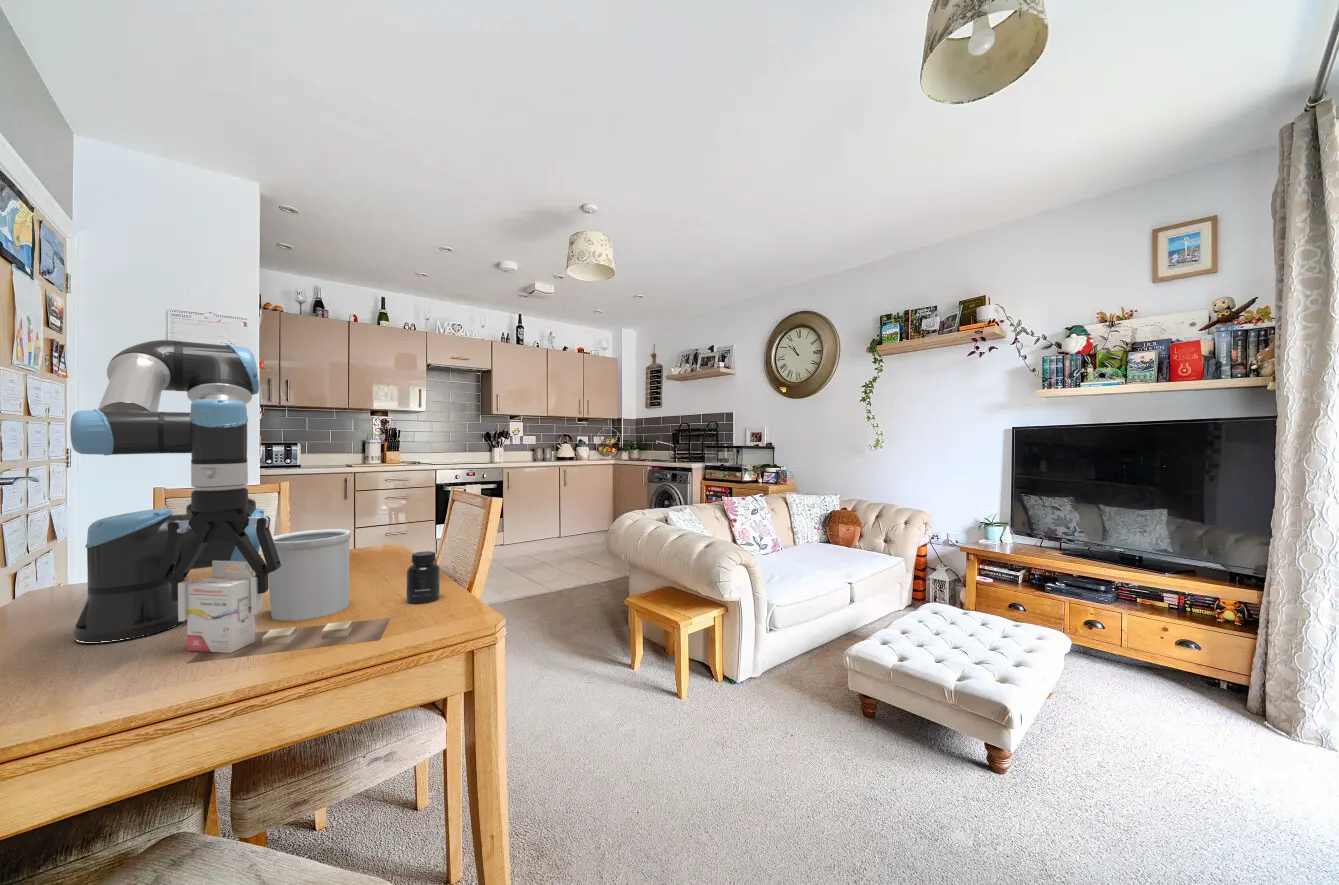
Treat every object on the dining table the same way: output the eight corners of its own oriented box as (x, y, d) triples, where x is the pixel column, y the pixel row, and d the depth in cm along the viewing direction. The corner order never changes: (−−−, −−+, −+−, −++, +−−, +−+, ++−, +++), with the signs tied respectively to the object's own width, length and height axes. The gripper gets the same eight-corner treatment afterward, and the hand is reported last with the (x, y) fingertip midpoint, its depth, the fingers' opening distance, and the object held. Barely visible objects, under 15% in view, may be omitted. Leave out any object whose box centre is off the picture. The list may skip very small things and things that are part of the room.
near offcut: (262, 646, 91) (262, 637, 91) (270, 637, 95) (270, 629, 95) (289, 642, 92) (289, 634, 92) (296, 634, 96) (296, 626, 96)
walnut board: (186, 672, 84) (185, 663, 84) (220, 644, 95) (220, 636, 95) (379, 648, 94) (379, 639, 94) (390, 625, 105) (390, 617, 105)
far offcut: (321, 639, 94) (321, 630, 94) (328, 631, 98) (328, 623, 98) (347, 636, 96) (347, 628, 96) (352, 628, 99) (352, 620, 99)
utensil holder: (249, 623, 106) (249, 538, 106) (321, 601, 120) (320, 526, 120) (298, 633, 101) (297, 544, 101) (367, 609, 115) (366, 530, 115)
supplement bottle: (418, 613, 112) (417, 558, 112) (400, 607, 116) (399, 554, 116) (446, 604, 118) (446, 552, 118) (428, 599, 122) (428, 548, 122)
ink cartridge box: (185, 652, 89) (183, 566, 88) (213, 640, 93) (212, 559, 93) (230, 653, 88) (229, 567, 87) (256, 642, 93) (255, 560, 92)
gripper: (124, 492, 83) (126, 630, 83) (288, 487, 91) (289, 614, 91) (152, 488, 90) (153, 615, 90) (302, 483, 98) (303, 601, 98)
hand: (221, 615), depth 91 cm, fingers closed on ink cartridge box, 9 cm apart
